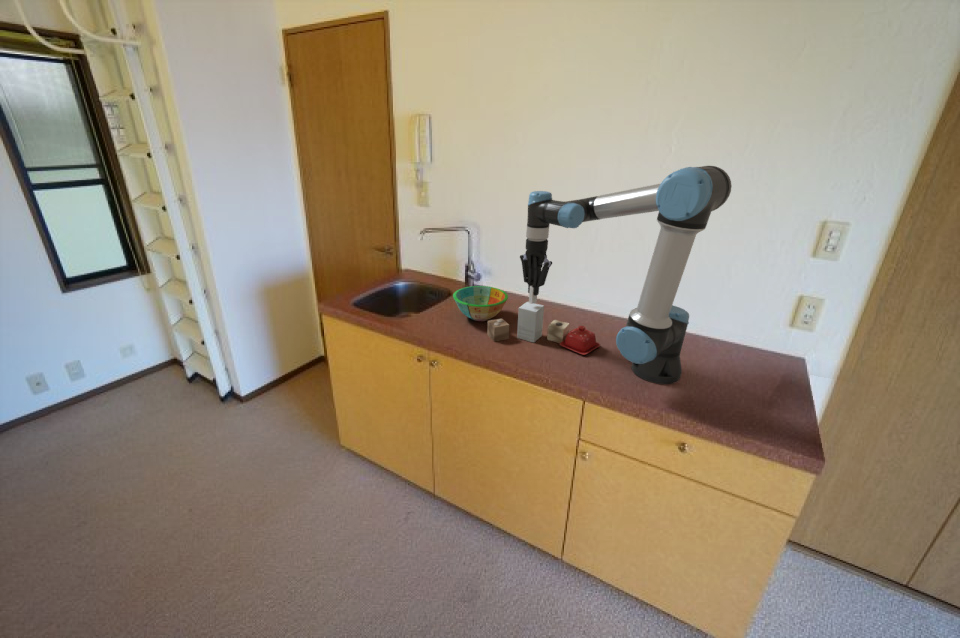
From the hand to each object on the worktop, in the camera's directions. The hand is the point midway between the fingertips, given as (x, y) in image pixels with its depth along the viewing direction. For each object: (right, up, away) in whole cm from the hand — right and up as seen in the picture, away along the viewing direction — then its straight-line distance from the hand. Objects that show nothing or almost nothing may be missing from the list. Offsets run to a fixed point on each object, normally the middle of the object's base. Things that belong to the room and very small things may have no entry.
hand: (532, 302), depth 153 cm
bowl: (-19, -6, +21) cm, 29 cm away
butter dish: (+17, -17, 0) cm, 24 cm away
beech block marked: (+10, -14, +6) cm, 18 cm away
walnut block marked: (-13, -13, +6) cm, 19 cm away
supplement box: (0, -13, +6) cm, 15 cm away
